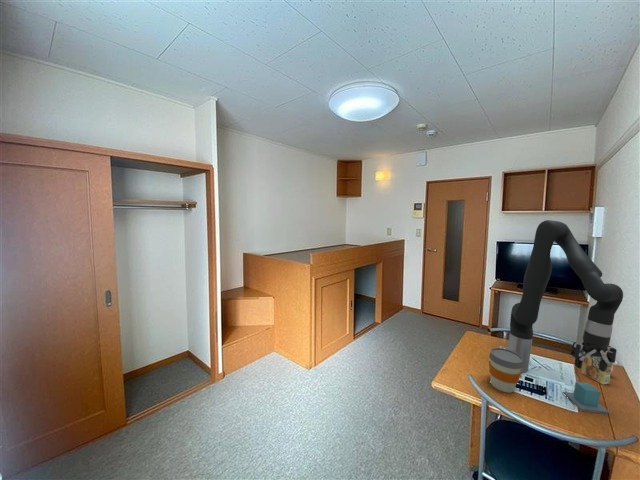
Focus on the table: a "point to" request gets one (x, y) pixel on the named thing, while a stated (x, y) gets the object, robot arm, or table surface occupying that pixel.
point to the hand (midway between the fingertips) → (589, 369)
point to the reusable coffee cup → (505, 369)
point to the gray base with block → (584, 407)
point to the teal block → (586, 394)
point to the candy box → (596, 369)
